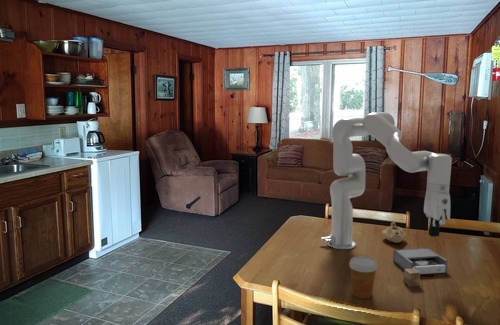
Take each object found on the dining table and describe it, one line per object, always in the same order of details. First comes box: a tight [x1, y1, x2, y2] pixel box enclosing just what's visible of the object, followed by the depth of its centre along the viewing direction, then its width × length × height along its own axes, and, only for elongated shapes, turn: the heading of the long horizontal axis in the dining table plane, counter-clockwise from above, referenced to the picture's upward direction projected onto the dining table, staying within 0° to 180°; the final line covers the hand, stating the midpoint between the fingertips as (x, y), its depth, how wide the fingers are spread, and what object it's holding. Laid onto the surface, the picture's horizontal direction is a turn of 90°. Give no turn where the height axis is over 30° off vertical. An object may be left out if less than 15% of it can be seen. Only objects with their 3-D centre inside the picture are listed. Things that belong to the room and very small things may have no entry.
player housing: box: [392, 247, 448, 275], centre depth 161 cm, size 15×14×5 cm
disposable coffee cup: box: [348, 256, 378, 299], centre depth 138 cm, size 10×10×12 cm
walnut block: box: [403, 268, 421, 287], centre depth 146 cm, size 4×4×5 cm
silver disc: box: [411, 258, 429, 266], centre depth 160 cm, size 7×7×2 cm
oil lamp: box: [381, 221, 407, 244], centre depth 191 cm, size 11×15×8 cm
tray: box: [409, 258, 445, 275], centre depth 159 cm, size 12×14×3 cm
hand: (433, 235), depth 148 cm, fingers closed
